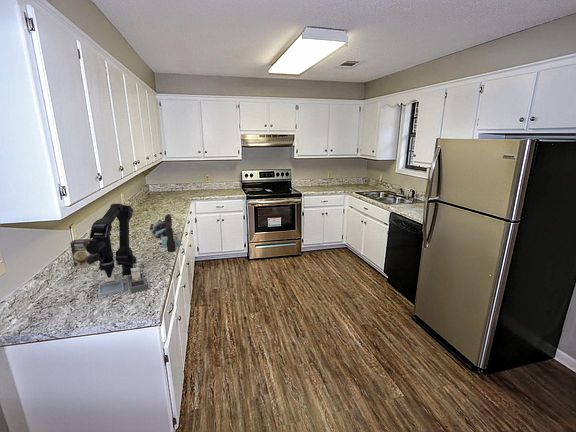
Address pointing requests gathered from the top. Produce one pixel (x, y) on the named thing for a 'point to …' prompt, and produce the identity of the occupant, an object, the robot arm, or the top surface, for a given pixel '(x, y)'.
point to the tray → (110, 288)
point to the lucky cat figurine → (158, 228)
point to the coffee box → (80, 253)
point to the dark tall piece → (169, 236)
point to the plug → (107, 277)
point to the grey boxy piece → (137, 281)
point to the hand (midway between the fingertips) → (109, 275)
